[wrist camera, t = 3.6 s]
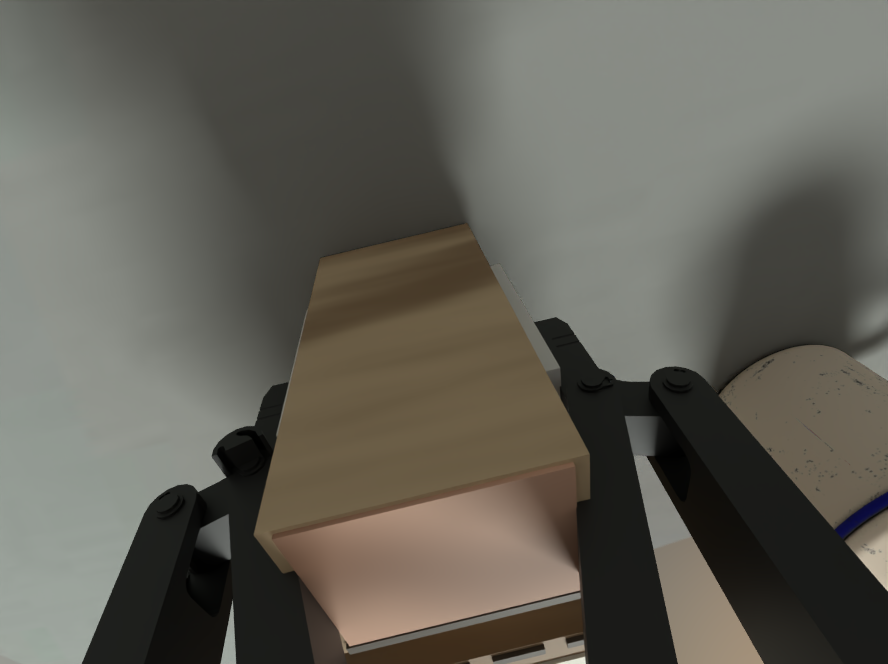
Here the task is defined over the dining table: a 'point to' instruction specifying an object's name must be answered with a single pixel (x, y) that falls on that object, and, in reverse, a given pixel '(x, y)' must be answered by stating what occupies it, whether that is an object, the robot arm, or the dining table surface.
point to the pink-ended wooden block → (422, 450)
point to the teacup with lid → (825, 438)
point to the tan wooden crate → (495, 641)
